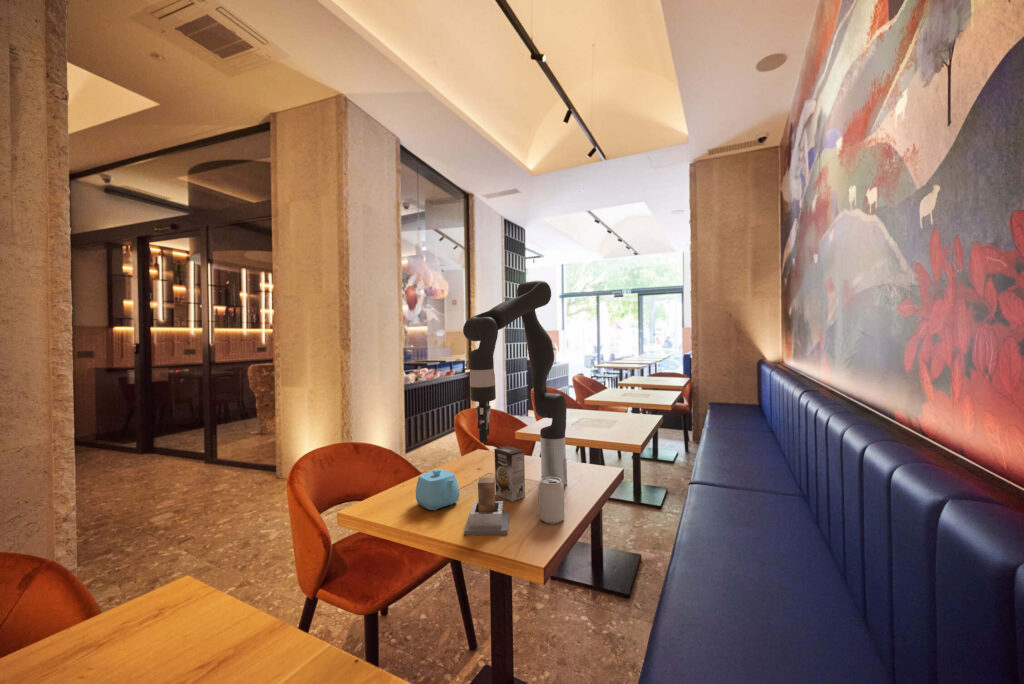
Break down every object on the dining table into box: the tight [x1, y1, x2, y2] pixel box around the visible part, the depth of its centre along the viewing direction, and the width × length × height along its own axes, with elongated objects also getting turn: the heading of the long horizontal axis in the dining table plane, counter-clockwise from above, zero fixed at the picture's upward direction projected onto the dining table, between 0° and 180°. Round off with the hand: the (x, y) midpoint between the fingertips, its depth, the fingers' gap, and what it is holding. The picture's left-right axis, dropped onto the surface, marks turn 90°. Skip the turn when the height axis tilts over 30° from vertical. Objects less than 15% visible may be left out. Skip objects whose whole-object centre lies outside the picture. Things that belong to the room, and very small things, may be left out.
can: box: [538, 477, 566, 525], centre depth 123 cm, size 8×8×12 cm
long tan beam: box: [477, 476, 496, 512], centre depth 120 cm, size 4×4×12 cm
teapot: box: [415, 468, 460, 511], centre depth 135 cm, size 12×18×12 cm
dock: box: [463, 500, 510, 536], centre depth 120 cm, size 12×12×5 cm
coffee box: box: [493, 445, 526, 502], centre depth 142 cm, size 9×6×16 cm
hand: (484, 438), depth 123 cm, fingers open, 8 cm apart
